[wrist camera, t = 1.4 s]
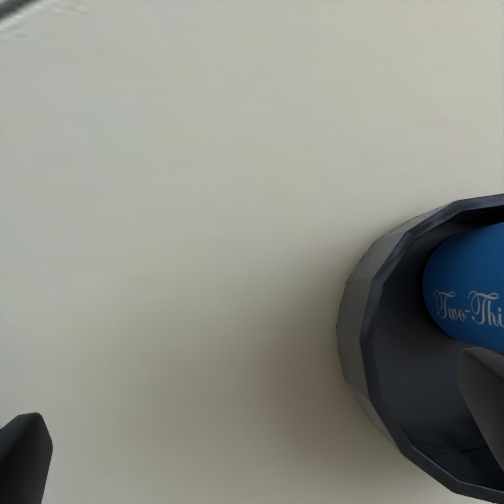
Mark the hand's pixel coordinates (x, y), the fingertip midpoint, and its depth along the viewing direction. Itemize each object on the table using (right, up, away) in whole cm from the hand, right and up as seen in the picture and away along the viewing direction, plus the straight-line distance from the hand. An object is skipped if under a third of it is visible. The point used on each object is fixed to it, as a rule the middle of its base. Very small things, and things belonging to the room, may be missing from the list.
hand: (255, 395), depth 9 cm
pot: (+12, -2, +16) cm, 20 cm away
